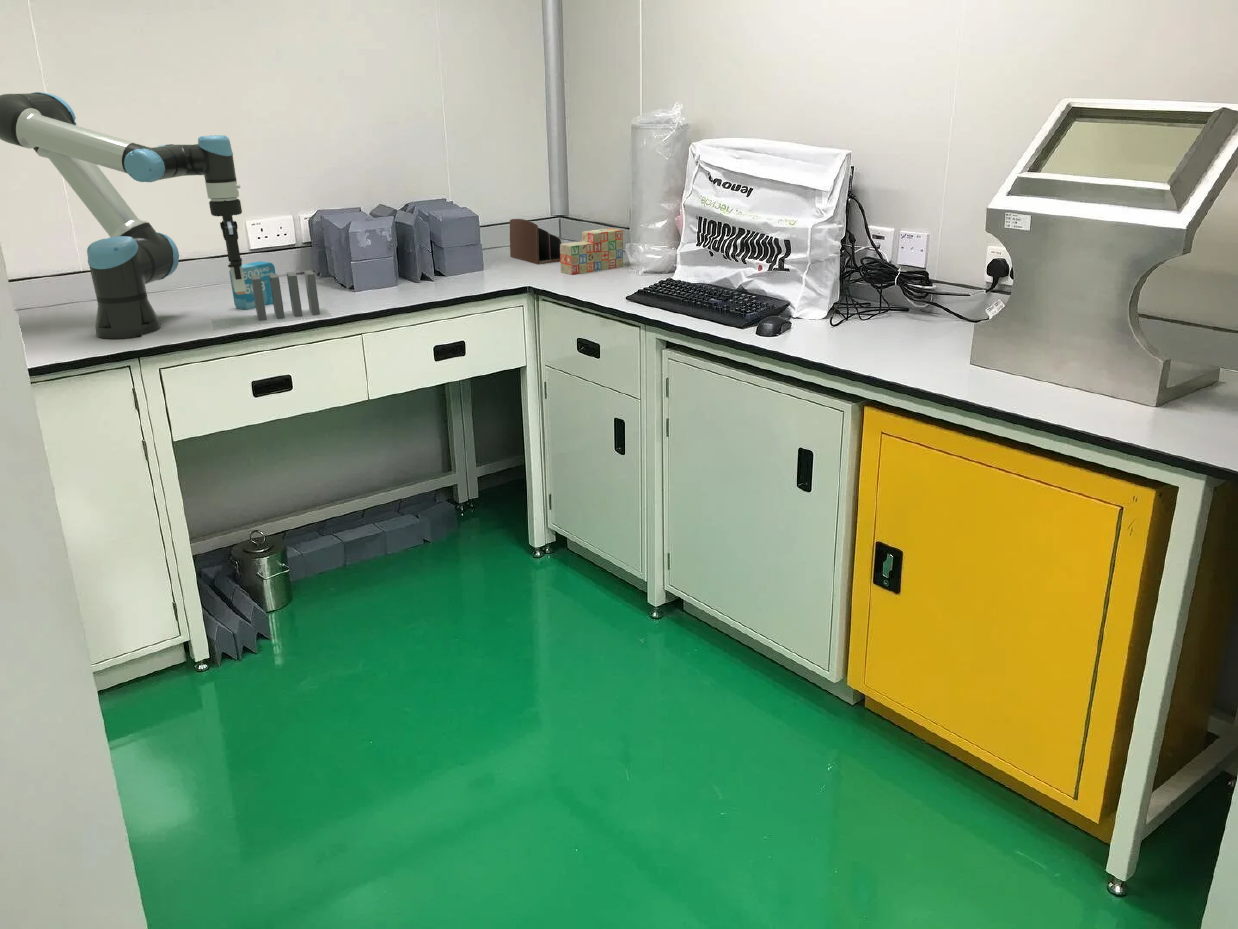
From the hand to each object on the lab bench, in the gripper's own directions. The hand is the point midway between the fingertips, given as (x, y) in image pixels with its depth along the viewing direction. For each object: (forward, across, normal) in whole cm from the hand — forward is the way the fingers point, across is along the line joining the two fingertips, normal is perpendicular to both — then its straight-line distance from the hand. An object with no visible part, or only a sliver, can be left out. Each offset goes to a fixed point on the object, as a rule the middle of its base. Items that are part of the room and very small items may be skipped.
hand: (239, 288), depth 260 cm
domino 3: (+8, 0, -9) cm, 12 cm away
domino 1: (+1, 0, 0) cm, 1 cm away
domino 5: (+8, 0, -18) cm, 20 cm away
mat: (+9, -1, -7) cm, 11 cm away
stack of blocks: (+10, +24, -110) cm, 113 cm away
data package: (+9, +18, -5) cm, 21 cm away
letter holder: (+10, +52, -100) cm, 113 cm away
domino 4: (+8, 0, -14) cm, 16 cm away
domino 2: (+8, 0, -4) cm, 9 cm away
